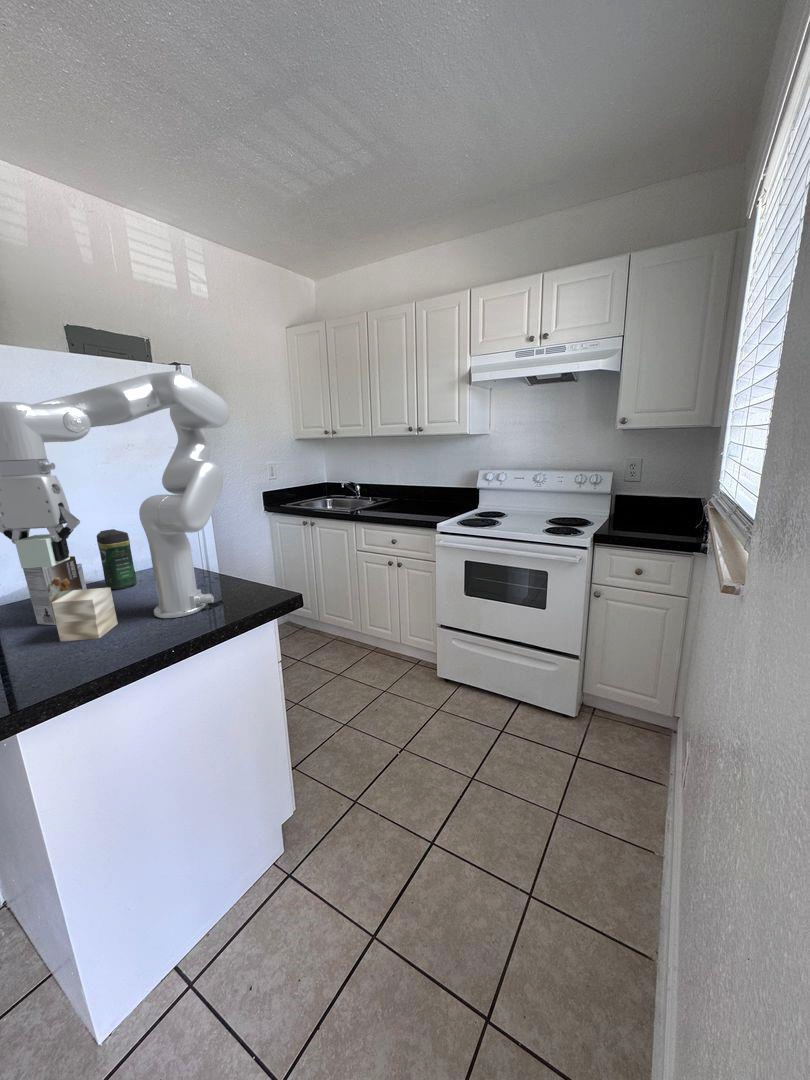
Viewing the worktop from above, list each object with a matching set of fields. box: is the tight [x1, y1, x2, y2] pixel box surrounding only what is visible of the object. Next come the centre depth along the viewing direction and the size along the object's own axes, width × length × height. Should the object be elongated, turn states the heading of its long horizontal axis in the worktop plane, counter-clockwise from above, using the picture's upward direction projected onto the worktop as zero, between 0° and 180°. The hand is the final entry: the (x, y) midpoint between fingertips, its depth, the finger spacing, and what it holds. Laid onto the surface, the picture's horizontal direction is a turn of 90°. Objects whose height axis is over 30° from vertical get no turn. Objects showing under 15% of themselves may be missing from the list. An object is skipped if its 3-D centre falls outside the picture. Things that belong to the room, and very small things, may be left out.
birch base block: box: [55, 606, 119, 642], centre depth 105 cm, size 8×8×5 cm
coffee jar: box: [96, 528, 138, 590], centre depth 138 cm, size 10×8×19 cm
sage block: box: [14, 533, 71, 569], centre depth 86 cm, size 6×6×6 cm
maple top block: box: [52, 587, 115, 623], centre depth 103 cm, size 8×8×5 cm
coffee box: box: [22, 555, 83, 626], centre depth 113 cm, size 9×6×16 cm
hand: (45, 559), depth 86 cm, fingers closed on sage block, 5 cm apart
